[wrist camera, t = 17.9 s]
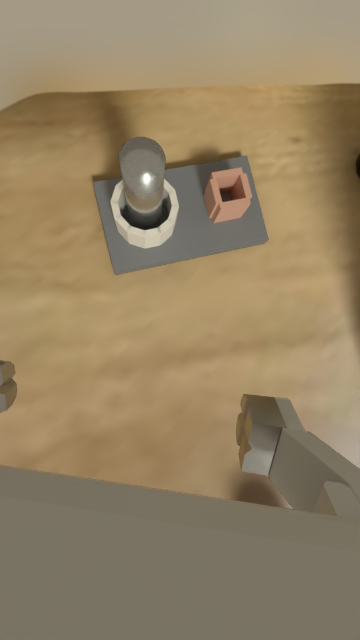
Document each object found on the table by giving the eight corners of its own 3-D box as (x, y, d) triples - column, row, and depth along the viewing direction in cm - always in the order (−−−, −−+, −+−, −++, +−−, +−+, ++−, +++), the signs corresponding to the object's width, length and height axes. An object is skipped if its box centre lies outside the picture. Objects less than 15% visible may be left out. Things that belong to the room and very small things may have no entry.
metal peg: (157, 201, 36) (159, 133, 25) (164, 230, 36) (170, 176, 24) (127, 207, 36) (114, 140, 24) (133, 236, 36) (124, 184, 24)
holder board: (243, 162, 40) (257, 134, 34) (264, 243, 39) (282, 228, 34) (95, 188, 37) (85, 162, 32) (115, 275, 37) (109, 263, 31)
